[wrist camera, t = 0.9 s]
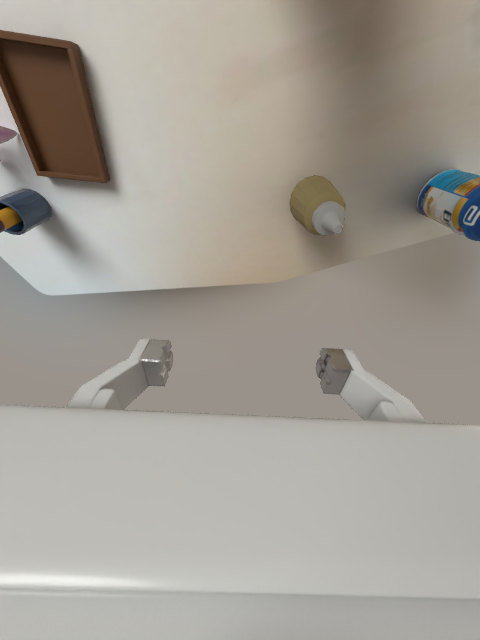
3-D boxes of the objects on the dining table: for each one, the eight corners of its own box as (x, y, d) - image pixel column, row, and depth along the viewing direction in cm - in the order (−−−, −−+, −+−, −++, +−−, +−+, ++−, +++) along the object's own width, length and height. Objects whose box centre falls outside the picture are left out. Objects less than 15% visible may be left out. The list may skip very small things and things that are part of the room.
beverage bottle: (472, 180, 44) (596, 213, 29) (432, 222, 49) (520, 268, 34) (444, 158, 42) (563, 183, 27) (405, 204, 47) (486, 246, 32)
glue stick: (21, 197, 43) (-33, 219, 35) (36, 199, 44) (-14, 220, 35) (28, 212, 45) (-22, 236, 36) (43, 214, 46) (-3, 238, 37)
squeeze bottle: (323, 215, 48) (359, 254, 34) (284, 218, 48) (305, 258, 34) (331, 169, 42) (377, 194, 29) (287, 173, 42) (313, 200, 29)
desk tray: (-12, 30, 31) (-25, 26, 29) (78, 44, 32) (70, 41, 30) (44, 173, 41) (37, 175, 40) (110, 180, 42) (105, 183, 41)
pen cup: (10, 187, 43) (-23, 197, 37) (43, 190, 43) (15, 201, 38) (26, 219, 47) (-2, 233, 41) (56, 221, 47) (33, 236, 42)
